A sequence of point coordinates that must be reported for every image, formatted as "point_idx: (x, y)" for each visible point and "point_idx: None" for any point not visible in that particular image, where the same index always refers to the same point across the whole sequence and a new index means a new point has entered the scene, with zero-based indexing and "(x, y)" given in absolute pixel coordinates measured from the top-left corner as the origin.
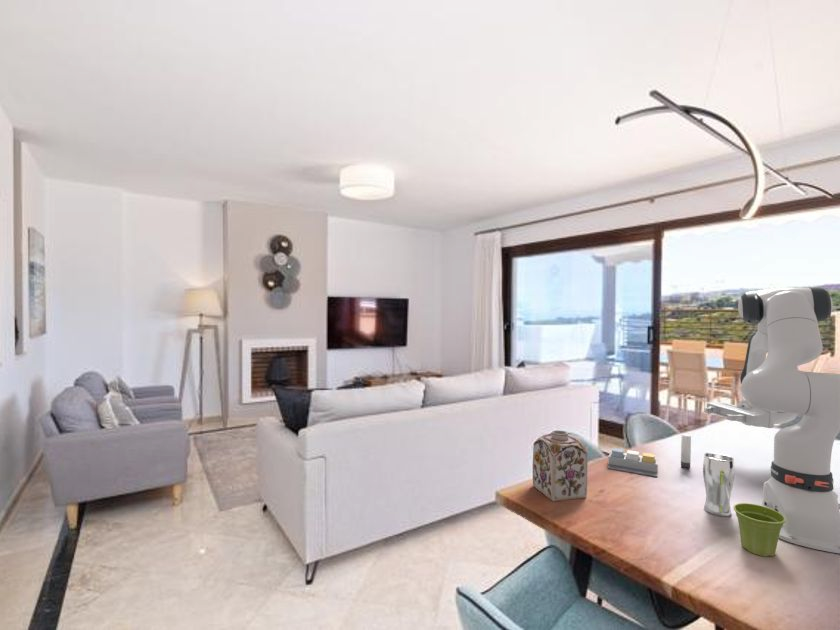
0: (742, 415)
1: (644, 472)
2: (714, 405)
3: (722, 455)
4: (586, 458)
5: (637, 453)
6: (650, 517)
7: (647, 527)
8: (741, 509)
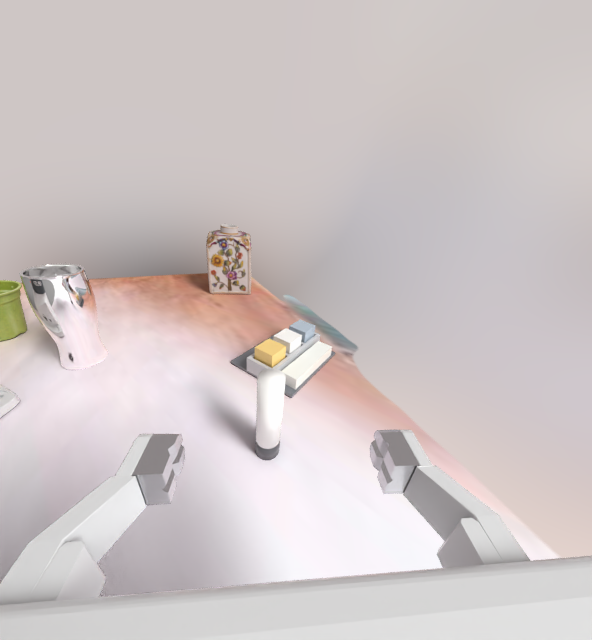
0: (26, 557)
1: (251, 354)
2: (522, 561)
3: (50, 279)
4: (207, 252)
5: (281, 337)
6: (142, 306)
7: (131, 298)
8: (12, 296)
